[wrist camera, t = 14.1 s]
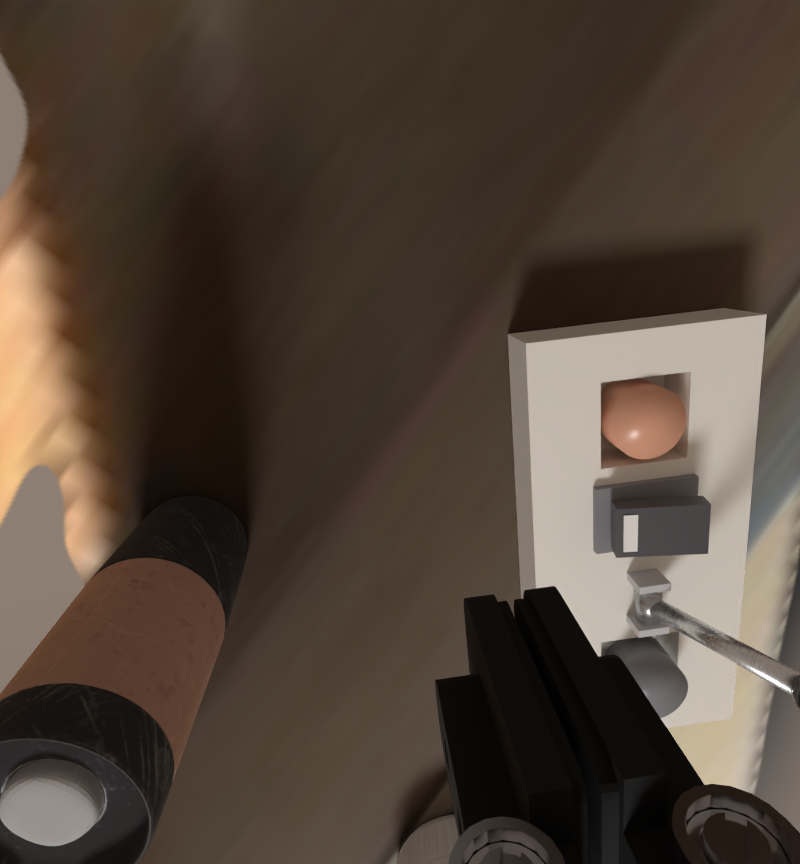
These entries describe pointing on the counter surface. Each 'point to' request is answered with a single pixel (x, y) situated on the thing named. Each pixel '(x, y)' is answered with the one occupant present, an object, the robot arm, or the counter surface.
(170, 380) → the counter surface
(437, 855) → the ramekin
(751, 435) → the control panel
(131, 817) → the travel mug
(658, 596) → the toggle lever
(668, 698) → the charcoal button
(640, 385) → the terracotta button
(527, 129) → the counter surface
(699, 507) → the black rocker
